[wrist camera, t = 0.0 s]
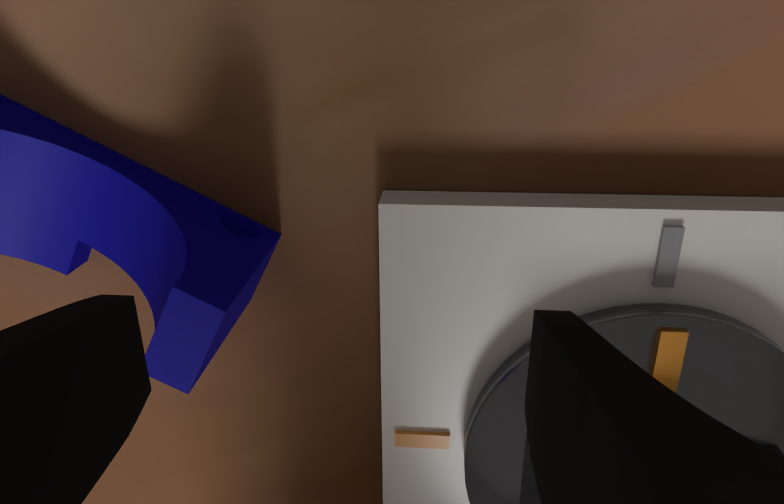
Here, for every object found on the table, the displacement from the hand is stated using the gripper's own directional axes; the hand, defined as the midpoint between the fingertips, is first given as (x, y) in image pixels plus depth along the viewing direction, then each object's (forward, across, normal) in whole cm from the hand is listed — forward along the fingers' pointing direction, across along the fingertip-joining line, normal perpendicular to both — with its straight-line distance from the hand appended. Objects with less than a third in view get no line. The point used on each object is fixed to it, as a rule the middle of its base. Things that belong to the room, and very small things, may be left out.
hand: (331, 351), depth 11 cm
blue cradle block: (+10, +10, +1) cm, 15 cm away
